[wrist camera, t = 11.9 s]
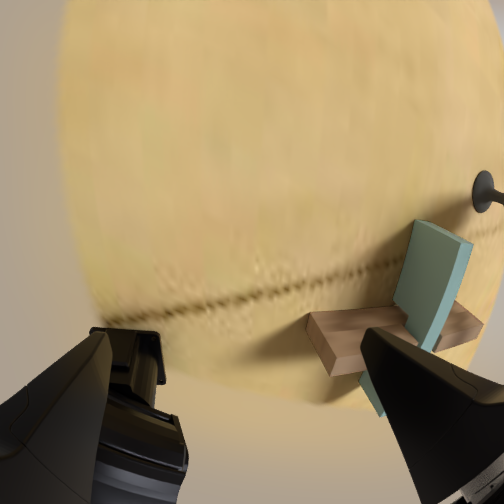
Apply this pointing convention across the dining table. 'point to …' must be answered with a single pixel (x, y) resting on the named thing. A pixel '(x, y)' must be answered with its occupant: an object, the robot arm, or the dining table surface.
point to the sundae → (485, 192)
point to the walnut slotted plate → (387, 318)
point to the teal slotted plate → (427, 287)
